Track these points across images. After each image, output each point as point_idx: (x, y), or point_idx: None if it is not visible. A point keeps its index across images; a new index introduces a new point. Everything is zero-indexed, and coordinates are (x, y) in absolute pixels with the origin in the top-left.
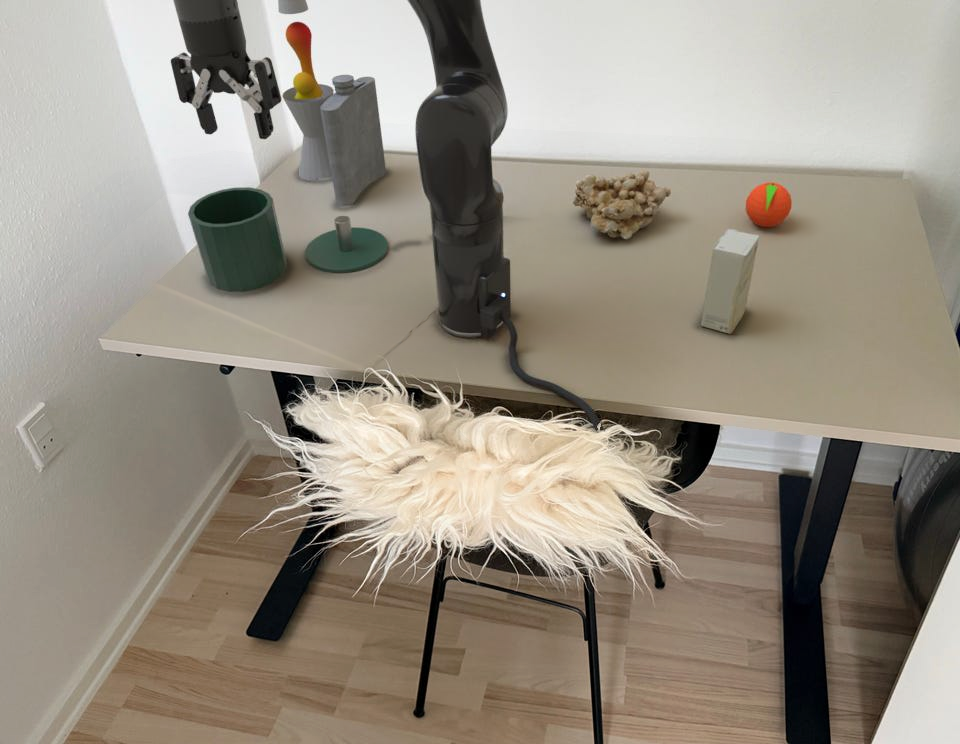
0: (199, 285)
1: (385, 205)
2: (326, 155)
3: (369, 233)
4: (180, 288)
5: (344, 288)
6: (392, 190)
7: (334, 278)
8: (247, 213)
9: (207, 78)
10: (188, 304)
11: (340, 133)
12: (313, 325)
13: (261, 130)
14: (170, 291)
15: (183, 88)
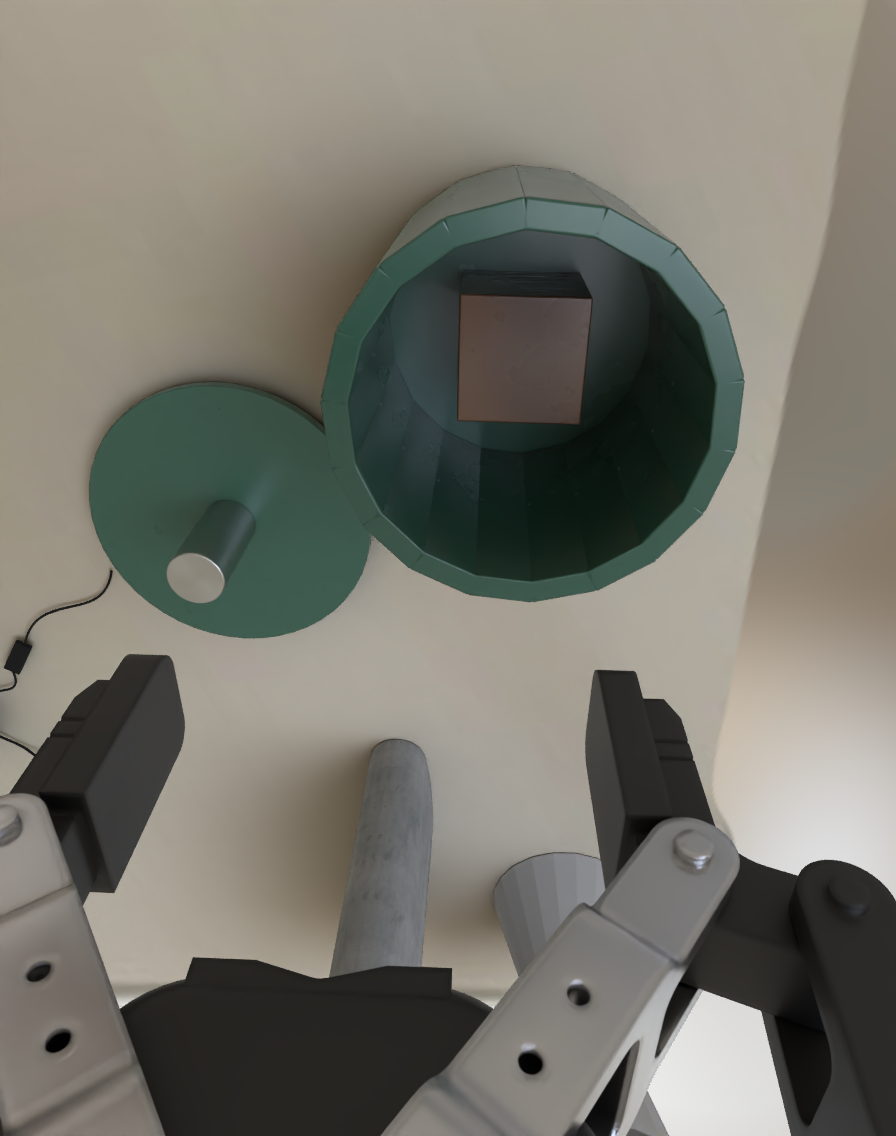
0: (674, 200)
1: (279, 772)
2: (525, 940)
3: (206, 612)
4: (746, 159)
5: (124, 311)
6: (303, 840)
7: (195, 364)
8: (549, 521)
9: (407, 1132)
10: (659, 46)
11: (331, 973)
12: (81, 32)
13: (109, 692)
14: (781, 125)
15: (849, 1005)
